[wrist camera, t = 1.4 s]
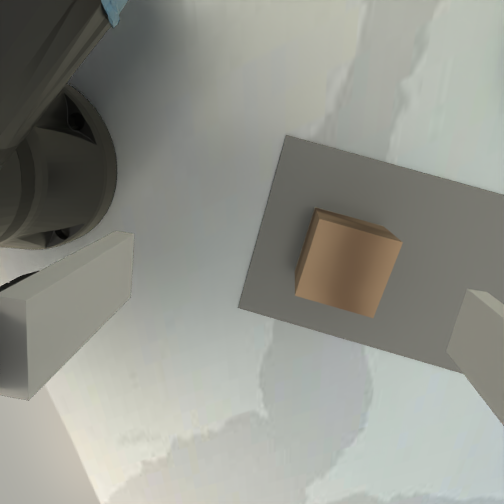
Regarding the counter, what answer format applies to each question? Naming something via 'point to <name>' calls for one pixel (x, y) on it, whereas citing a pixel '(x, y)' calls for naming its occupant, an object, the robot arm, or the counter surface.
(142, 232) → the counter surface
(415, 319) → the rubber mat
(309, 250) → the walnut cube
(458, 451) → the counter surface
